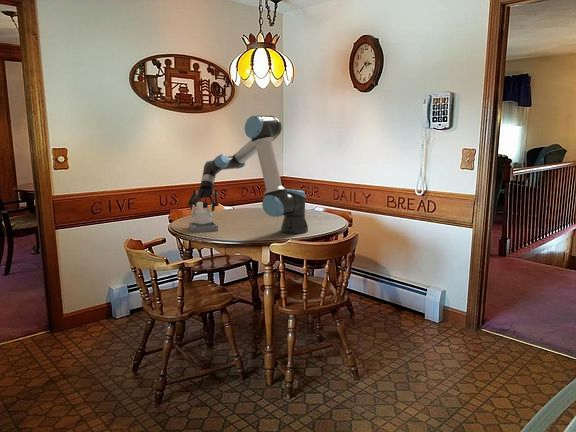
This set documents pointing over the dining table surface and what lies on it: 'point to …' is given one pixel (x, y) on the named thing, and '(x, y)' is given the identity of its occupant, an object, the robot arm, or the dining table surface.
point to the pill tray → (203, 227)
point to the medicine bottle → (202, 213)
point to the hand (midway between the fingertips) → (201, 215)
